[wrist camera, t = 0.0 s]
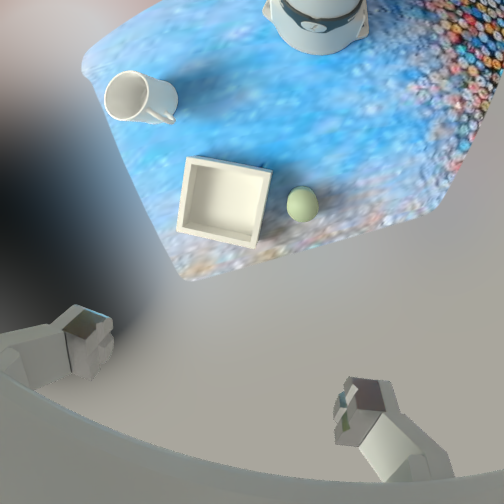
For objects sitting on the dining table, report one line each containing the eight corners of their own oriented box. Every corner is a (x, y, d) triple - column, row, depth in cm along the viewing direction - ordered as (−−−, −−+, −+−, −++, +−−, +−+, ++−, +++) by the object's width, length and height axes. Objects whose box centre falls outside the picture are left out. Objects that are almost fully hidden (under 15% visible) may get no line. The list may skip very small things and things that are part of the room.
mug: (199, 110, 52) (176, 103, 41) (168, 144, 55) (139, 146, 44) (157, 71, 51) (126, 58, 39) (128, 105, 53) (93, 101, 42)
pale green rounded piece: (291, 183, 55) (290, 187, 49) (319, 189, 55) (321, 195, 49) (284, 210, 57) (283, 218, 51) (312, 216, 56) (314, 225, 51)
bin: (195, 155, 55) (186, 156, 51) (273, 170, 54) (270, 172, 50) (185, 224, 60) (176, 231, 55) (258, 240, 59) (254, 249, 54)
